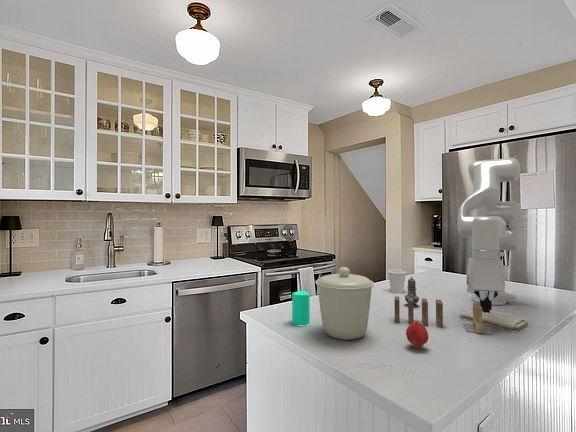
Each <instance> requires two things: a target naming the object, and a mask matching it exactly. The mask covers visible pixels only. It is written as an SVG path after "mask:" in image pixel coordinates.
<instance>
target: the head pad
mask: <svg viewBox="0 0 576 432" xmlns="http://www.w3.org/2000/svg"><path fill="white" fill-rule="evenodd" d="M461 323H462V326H463V328H464V329H465V331H466V332H467V333H473V334H474V333H476V334H478V333H477V332H476V331H475V329H474V328H473V323H472V322H471V323H470V322H461ZM482 327H483V333H482V334H485V335H493V332H492V331H491V329H490V328H489V327H488V325H484V324H482Z"/></svg>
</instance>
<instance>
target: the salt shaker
mask: <svg viewBox="0 0 576 432" xmlns="http://www.w3.org/2000/svg"><path fill="white" fill-rule="evenodd" d="M416 285H417V284H416V280H415V279H414V278H413V276H411V277H410V278H409V279H408V280H407V294H406V295H404V296H403V297H404V300H405V302H406V303H405V304H404V306H405V307H406V308H408V297H411V298H413V306H414V308H416V309H417V308H419V305H418V303H419V300H420V296H417V292H416V291H417V286H416Z"/></svg>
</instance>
